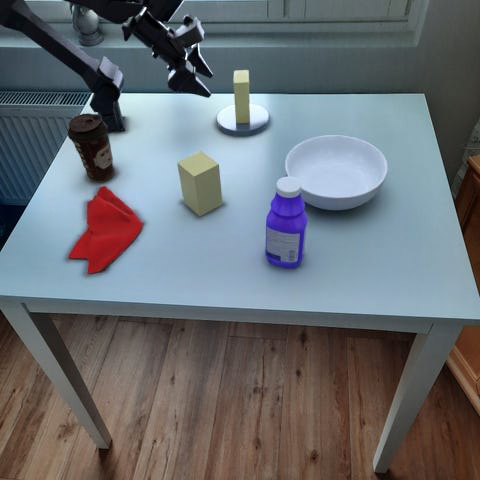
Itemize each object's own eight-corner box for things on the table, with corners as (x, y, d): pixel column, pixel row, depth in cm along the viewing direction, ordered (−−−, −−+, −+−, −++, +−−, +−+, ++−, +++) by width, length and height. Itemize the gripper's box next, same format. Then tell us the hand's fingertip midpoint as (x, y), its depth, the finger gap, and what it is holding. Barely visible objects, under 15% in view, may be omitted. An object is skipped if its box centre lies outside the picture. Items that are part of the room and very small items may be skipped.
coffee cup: (125, 164, 111) (110, 111, 100) (116, 186, 106) (100, 133, 95) (89, 163, 111) (71, 110, 101) (78, 185, 106) (58, 132, 96)
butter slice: (235, 123, 116) (233, 82, 108) (236, 110, 120) (234, 70, 112) (249, 122, 116) (248, 82, 108) (249, 110, 120) (248, 69, 112)
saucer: (214, 111, 123) (214, 106, 122) (264, 106, 123) (264, 100, 122) (220, 139, 115) (220, 133, 114) (272, 133, 116) (273, 127, 114)
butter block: (183, 202, 101) (176, 162, 93) (206, 191, 103) (201, 150, 95) (199, 216, 98) (193, 176, 90) (222, 204, 100) (219, 164, 92)
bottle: (306, 252, 91) (314, 176, 77) (299, 273, 87) (305, 198, 74) (270, 245, 92) (271, 169, 78) (262, 265, 89) (261, 190, 75)
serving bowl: (263, 195, 101) (263, 168, 96) (322, 151, 110) (325, 124, 105) (343, 238, 92) (348, 211, 87) (400, 187, 101) (408, 159, 96)
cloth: (130, 274, 89) (127, 266, 87) (60, 273, 90) (55, 265, 88) (153, 187, 105) (151, 179, 103) (93, 187, 106) (90, 179, 104)
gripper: (174, 26, 93) (233, 80, 102) (182, -10, 104) (234, 42, 113) (143, 68, 100) (200, 116, 108) (154, 30, 111) (205, 76, 119)
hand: (211, 86), depth 112 cm, fingers open, 9 cm apart
